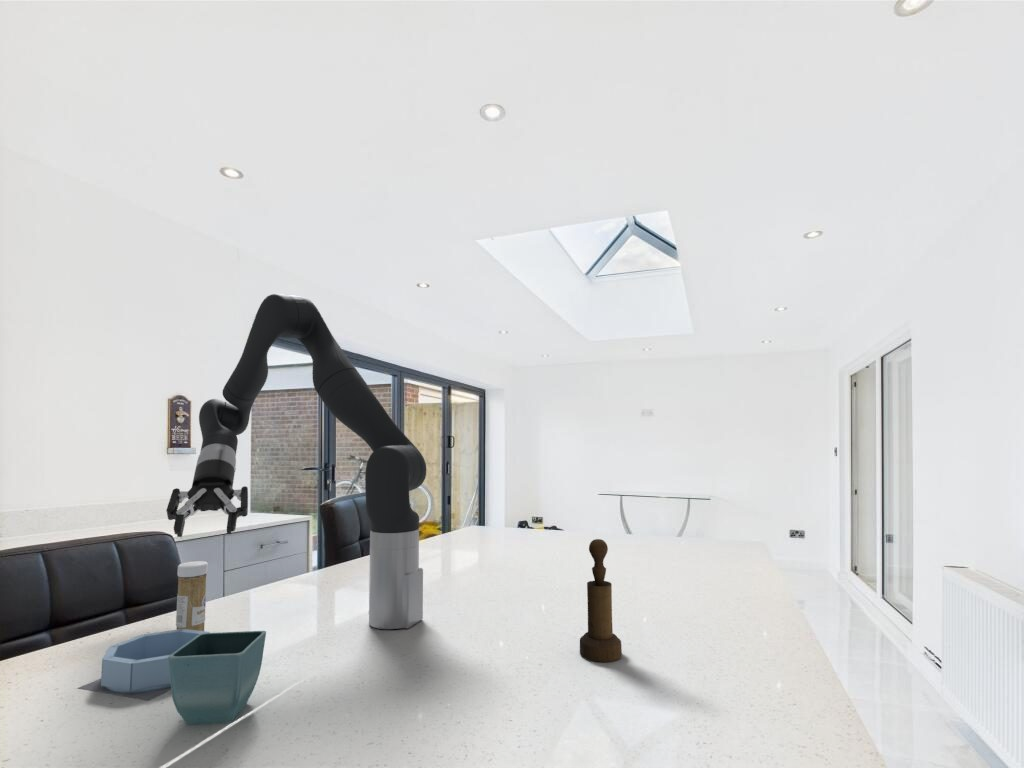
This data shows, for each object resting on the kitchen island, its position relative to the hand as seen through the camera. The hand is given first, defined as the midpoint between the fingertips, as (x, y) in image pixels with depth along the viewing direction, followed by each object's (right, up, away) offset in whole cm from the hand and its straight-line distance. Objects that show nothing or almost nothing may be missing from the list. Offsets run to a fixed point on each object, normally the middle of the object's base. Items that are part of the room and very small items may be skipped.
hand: (204, 533), depth 110 cm
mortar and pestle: (+74, -15, -19) cm, 77 cm away
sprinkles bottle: (+4, -16, -12) cm, 21 cm away
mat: (+7, -14, -26) cm, 30 cm away
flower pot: (+22, -13, -38) cm, 46 cm away
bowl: (+7, -14, -26) cm, 30 cm away
